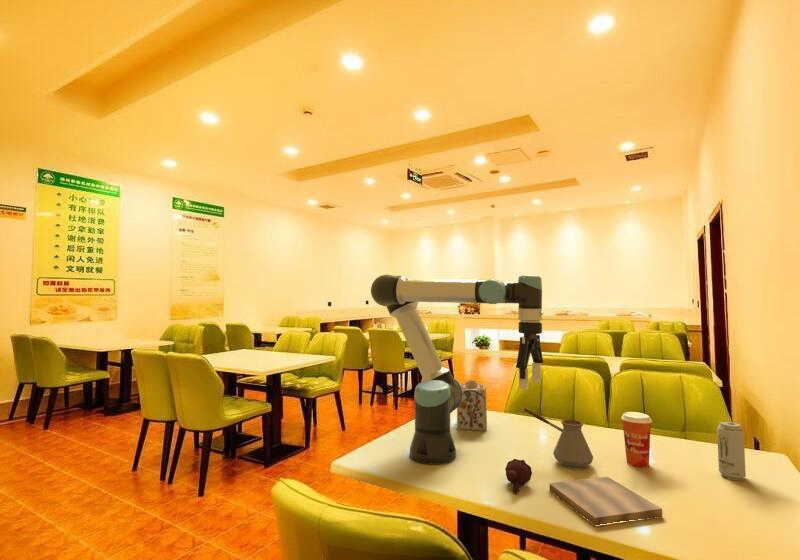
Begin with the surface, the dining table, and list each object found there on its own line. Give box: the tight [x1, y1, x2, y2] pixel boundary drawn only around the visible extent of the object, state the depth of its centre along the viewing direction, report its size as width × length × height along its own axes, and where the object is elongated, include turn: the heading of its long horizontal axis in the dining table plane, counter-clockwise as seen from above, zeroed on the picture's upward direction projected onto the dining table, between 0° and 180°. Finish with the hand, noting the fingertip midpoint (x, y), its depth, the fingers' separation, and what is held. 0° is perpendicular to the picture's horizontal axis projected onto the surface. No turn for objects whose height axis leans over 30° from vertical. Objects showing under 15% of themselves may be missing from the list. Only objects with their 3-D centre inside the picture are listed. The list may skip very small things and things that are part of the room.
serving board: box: [549, 476, 663, 526], centre depth 103 cm, size 18×18×2 cm
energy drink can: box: [716, 420, 747, 481], centre depth 119 cm, size 6×6×15 cm
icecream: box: [505, 458, 533, 495], centre depth 115 cm, size 7×7×15 cm
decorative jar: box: [456, 379, 488, 432], centre depth 167 cm, size 12×12×18 cm
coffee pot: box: [521, 408, 594, 470], centre depth 131 cm, size 21×12×15 cm, turn 54°
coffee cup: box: [620, 411, 653, 469], centre depth 128 cm, size 8×8×15 cm
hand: (530, 385), depth 137 cm, fingers open, 13 cm apart
